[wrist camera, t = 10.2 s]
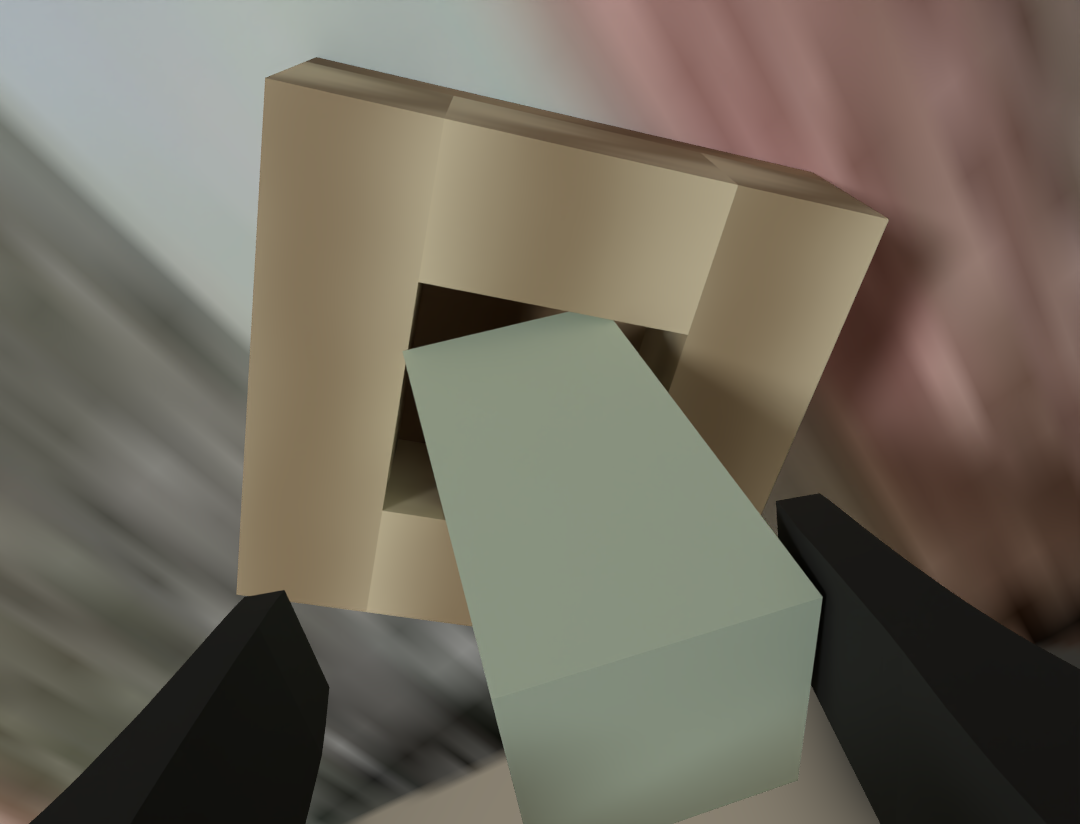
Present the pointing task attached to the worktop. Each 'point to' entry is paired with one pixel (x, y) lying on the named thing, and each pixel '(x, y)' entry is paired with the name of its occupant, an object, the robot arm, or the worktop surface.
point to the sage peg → (612, 579)
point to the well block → (501, 305)
